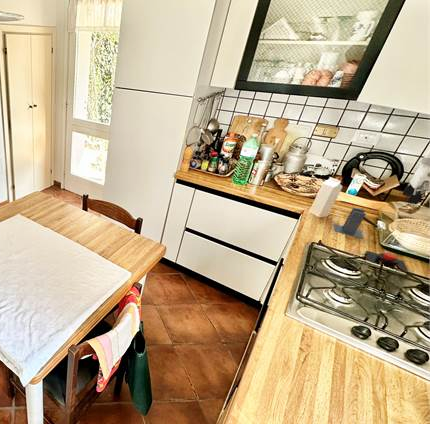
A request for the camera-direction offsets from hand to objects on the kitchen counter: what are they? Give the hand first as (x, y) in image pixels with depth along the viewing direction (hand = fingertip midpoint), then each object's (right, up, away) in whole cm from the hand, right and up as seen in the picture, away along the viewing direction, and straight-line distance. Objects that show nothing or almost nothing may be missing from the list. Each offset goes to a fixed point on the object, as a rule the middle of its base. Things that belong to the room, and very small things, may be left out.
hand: (409, 199), depth 134 cm
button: (-14, -25, -5) cm, 30 cm away
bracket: (-8, -16, +20) cm, 27 cm away
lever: (-5, -10, +14) cm, 18 cm away
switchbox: (-14, -29, -3) cm, 32 cm away
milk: (-10, -8, +35) cm, 37 cm away
